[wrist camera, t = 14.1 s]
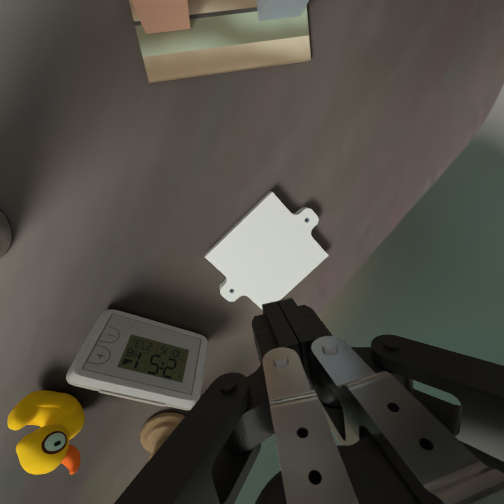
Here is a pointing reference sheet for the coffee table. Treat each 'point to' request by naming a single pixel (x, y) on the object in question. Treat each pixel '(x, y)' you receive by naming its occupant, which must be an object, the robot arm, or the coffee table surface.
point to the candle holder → (159, 430)
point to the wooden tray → (222, 41)
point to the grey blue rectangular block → (279, 8)
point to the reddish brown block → (162, 15)
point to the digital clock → (141, 361)
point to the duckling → (48, 431)
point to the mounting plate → (267, 252)
